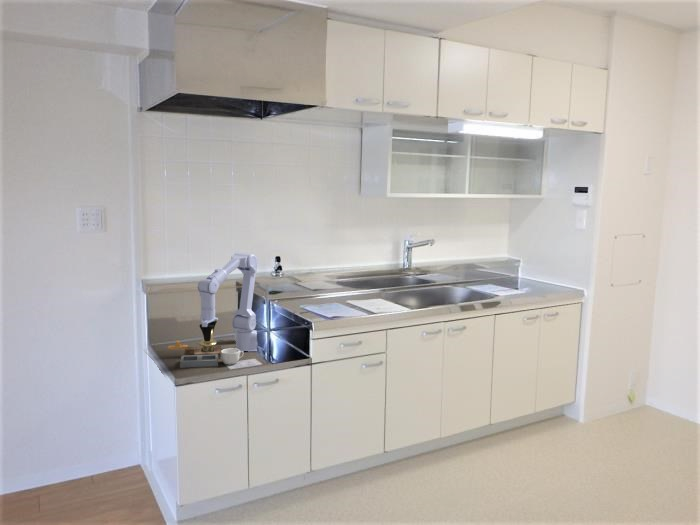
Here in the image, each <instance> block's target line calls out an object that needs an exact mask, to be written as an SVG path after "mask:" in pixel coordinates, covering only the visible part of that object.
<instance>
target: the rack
mask: <svg viewBox="0 0 700 525" xmlns="http://www.w3.org/2000/svg"><path fill="white" fill-rule="evenodd" d="M186 367H187V368H206V367H207V368H208V367H219V359H218V354H211V355H186V356H185V355H181V357H180V361H179V368H180V369H181V368H183V369H184V368H186Z"/></svg>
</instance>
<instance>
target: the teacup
mask: <svg viewBox="0 0 700 525" xmlns="http://www.w3.org/2000/svg"><path fill="white" fill-rule="evenodd" d="M241 353H242V355H241ZM244 354H245V353H244V352H243V351H240V350H239V349H236V348H235V347H234V348H233V347H229V348H224V349H221V358H220V360H221V361H222V363H223V364H225V365H227V364H233V365H236V364H237V363H238V362H239V360H240V359H241V358H243V356H244ZM240 355H241V356H240Z"/></svg>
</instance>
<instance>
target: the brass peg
mask: <svg viewBox="0 0 700 525" xmlns="http://www.w3.org/2000/svg"><path fill="white" fill-rule="evenodd" d="M217 341H218V340H215V339H214V332H213V329H212V332H211V339H210V341H205V340H204V337H202V340H200V341H199V346H200V347H203V351H207V352H208V351H213V346H217V343H218V342H217Z"/></svg>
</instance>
